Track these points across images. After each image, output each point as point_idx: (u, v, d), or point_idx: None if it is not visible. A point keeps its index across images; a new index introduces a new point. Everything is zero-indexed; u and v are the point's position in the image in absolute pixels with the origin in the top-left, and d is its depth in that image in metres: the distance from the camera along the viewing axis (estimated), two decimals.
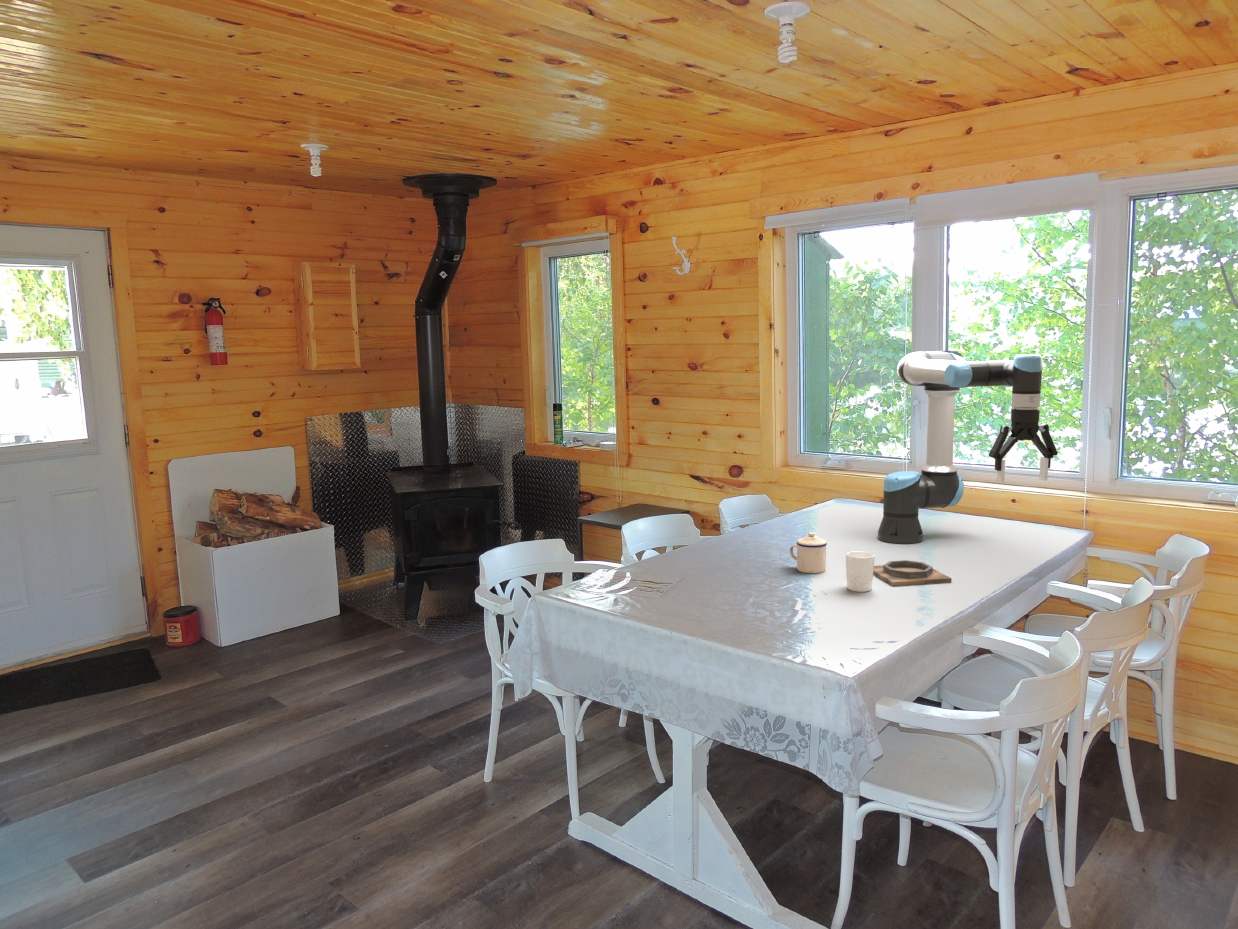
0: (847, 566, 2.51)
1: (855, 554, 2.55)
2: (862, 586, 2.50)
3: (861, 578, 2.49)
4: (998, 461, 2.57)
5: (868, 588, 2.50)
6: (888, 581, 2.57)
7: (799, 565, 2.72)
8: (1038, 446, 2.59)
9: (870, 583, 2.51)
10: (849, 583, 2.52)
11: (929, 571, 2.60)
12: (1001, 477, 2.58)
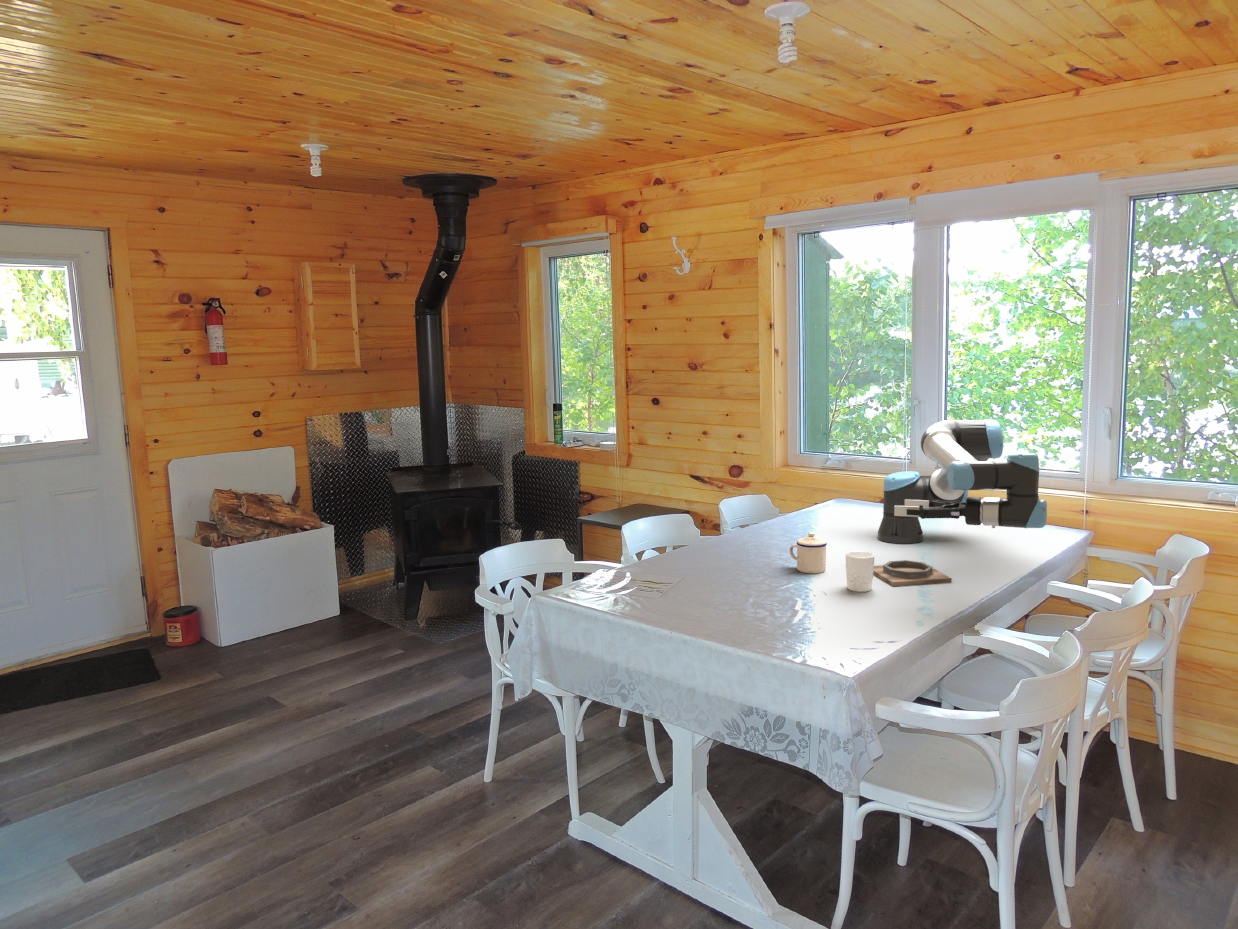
0: (847, 566, 2.51)
1: (855, 554, 2.55)
2: (862, 586, 2.50)
3: (861, 578, 2.49)
4: (917, 514, 2.36)
5: (868, 588, 2.50)
6: (888, 581, 2.57)
7: (799, 565, 2.72)
8: (940, 507, 2.46)
9: (870, 583, 2.51)
10: (849, 583, 2.52)
11: (929, 571, 2.60)
12: (900, 515, 2.39)
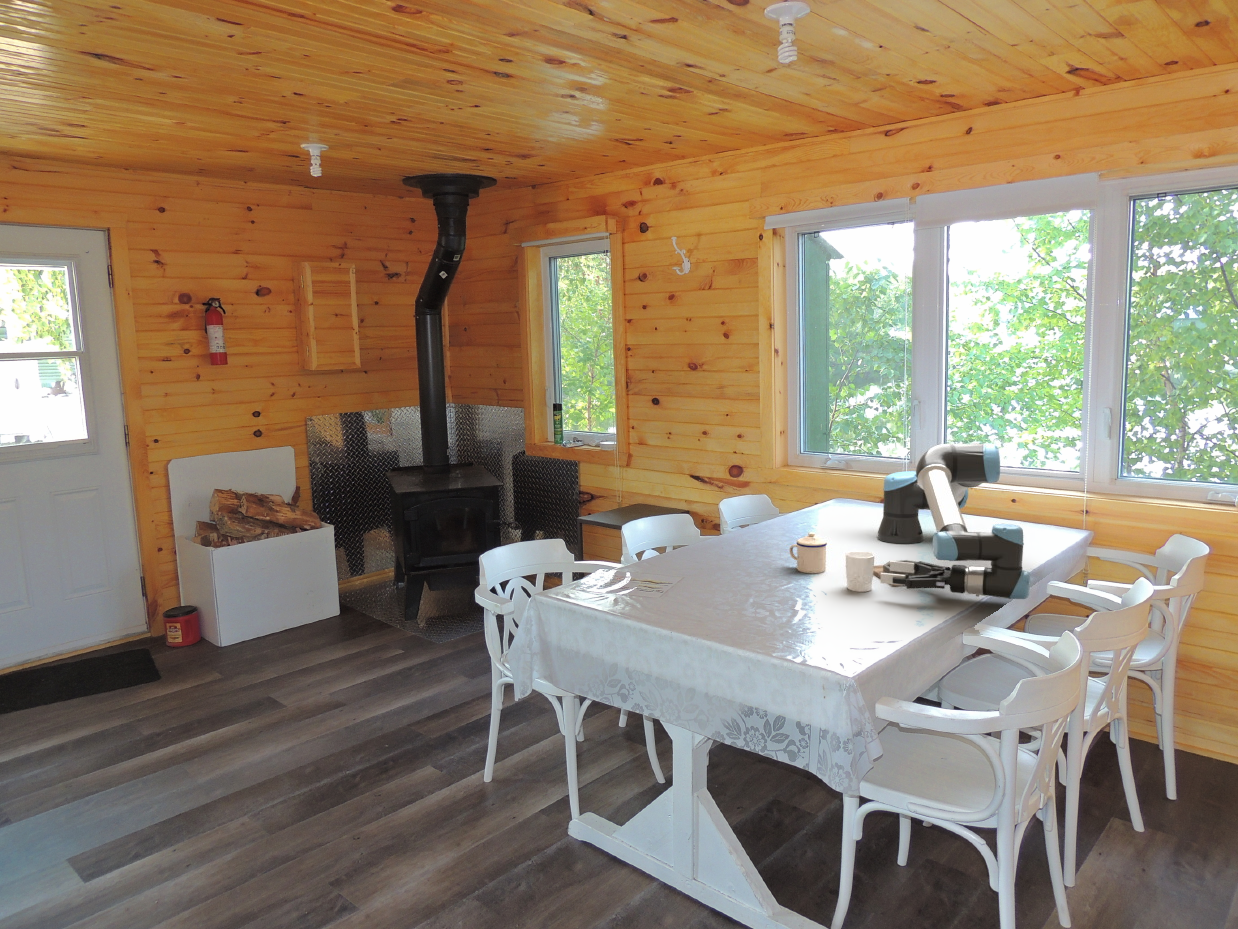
0: (847, 566, 2.51)
1: (855, 554, 2.55)
2: (862, 586, 2.50)
3: (861, 578, 2.49)
4: (903, 583, 2.39)
5: (868, 588, 2.50)
6: None
7: (799, 565, 2.72)
8: (925, 571, 2.48)
9: (870, 583, 2.51)
10: (849, 583, 2.52)
11: None
12: (886, 582, 2.42)
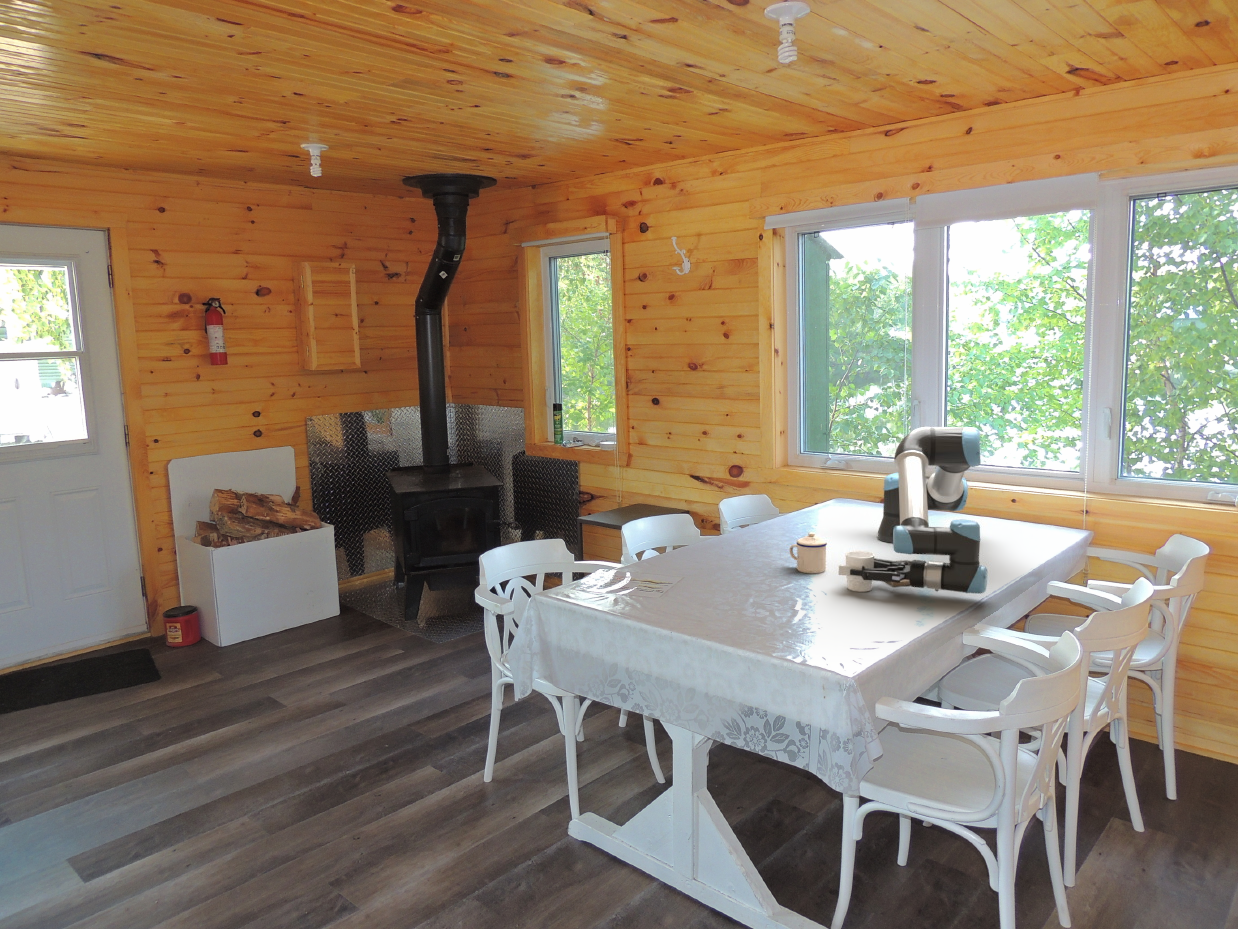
0: None
1: (855, 554, 2.55)
2: (862, 586, 2.50)
3: (861, 578, 2.49)
4: (859, 575, 2.47)
5: (869, 588, 2.50)
6: None
7: (799, 565, 2.72)
8: (883, 567, 2.52)
9: (870, 583, 2.51)
10: (849, 583, 2.52)
11: None
12: (843, 574, 2.50)
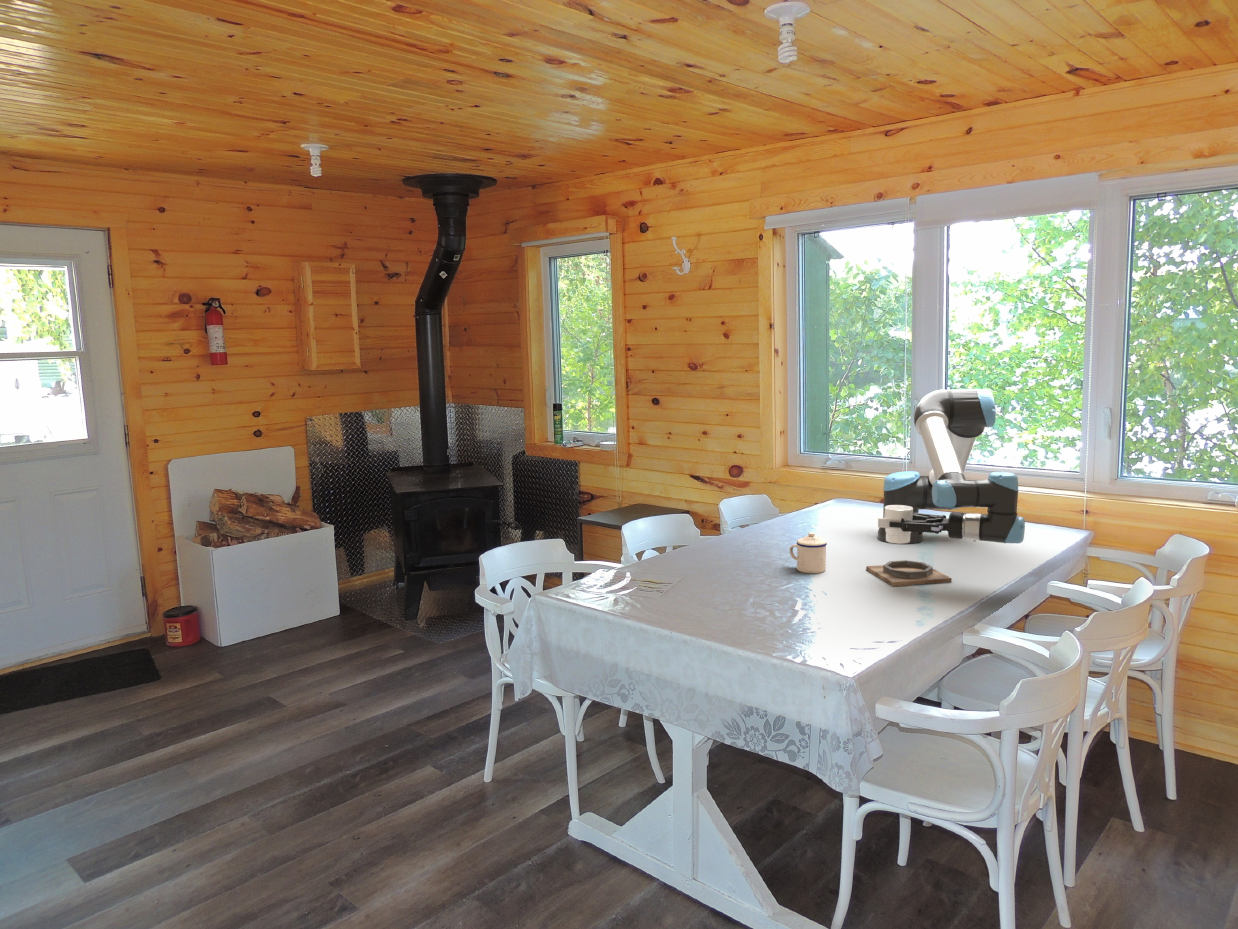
0: None
1: (894, 508, 2.62)
2: (901, 538, 2.56)
3: (900, 530, 2.56)
4: None
5: (907, 540, 2.57)
6: (888, 581, 2.57)
7: (799, 565, 2.72)
8: (921, 520, 2.59)
9: (909, 535, 2.57)
10: (888, 535, 2.58)
11: (929, 571, 2.60)
12: (883, 526, 2.57)
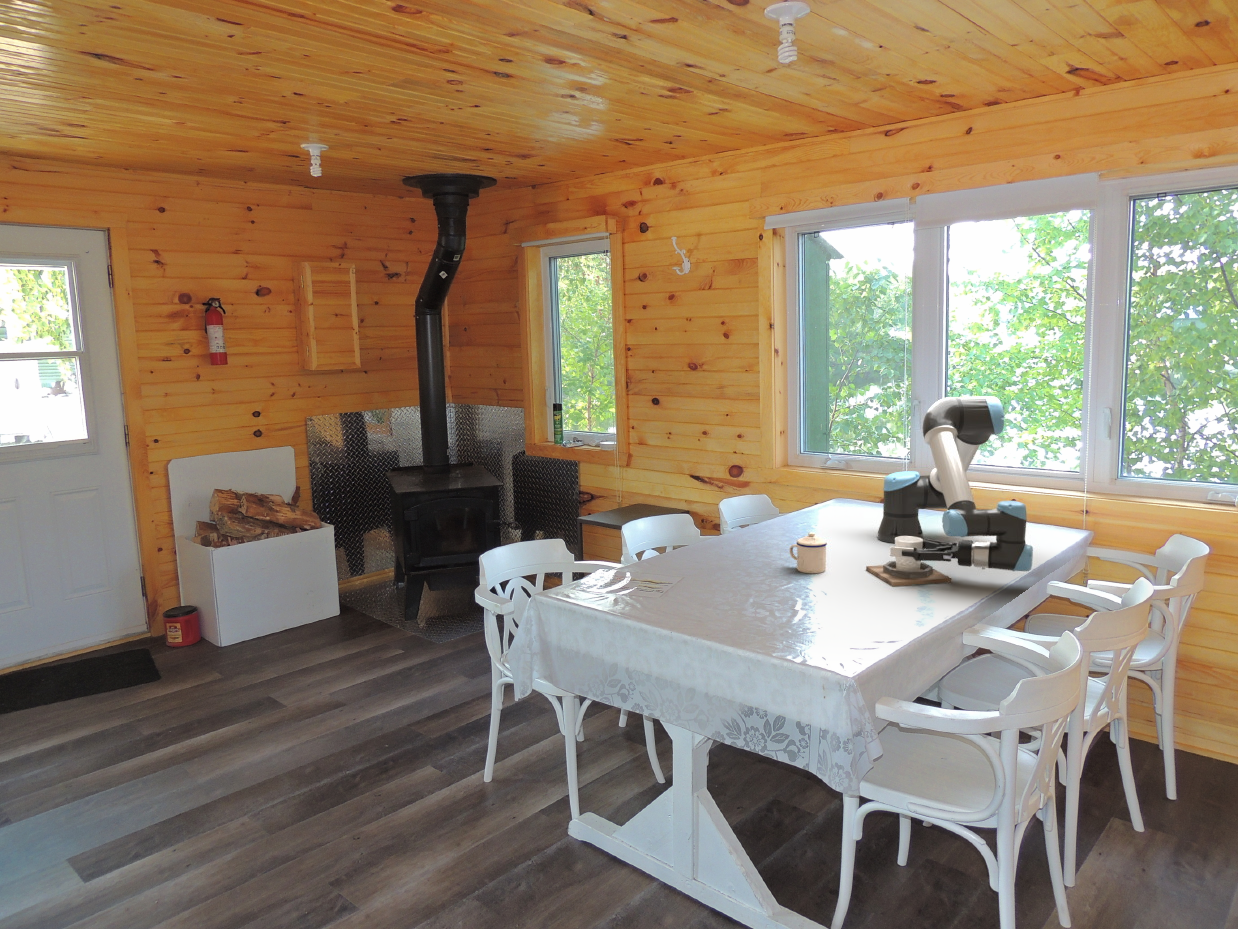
0: None
1: (904, 539, 2.67)
2: (911, 569, 2.61)
3: (910, 561, 2.61)
4: (911, 556, 2.56)
5: None
6: (888, 581, 2.57)
7: (799, 565, 2.72)
8: (932, 547, 2.64)
9: (918, 566, 2.62)
10: (898, 566, 2.63)
11: (929, 571, 2.60)
12: (895, 555, 2.59)
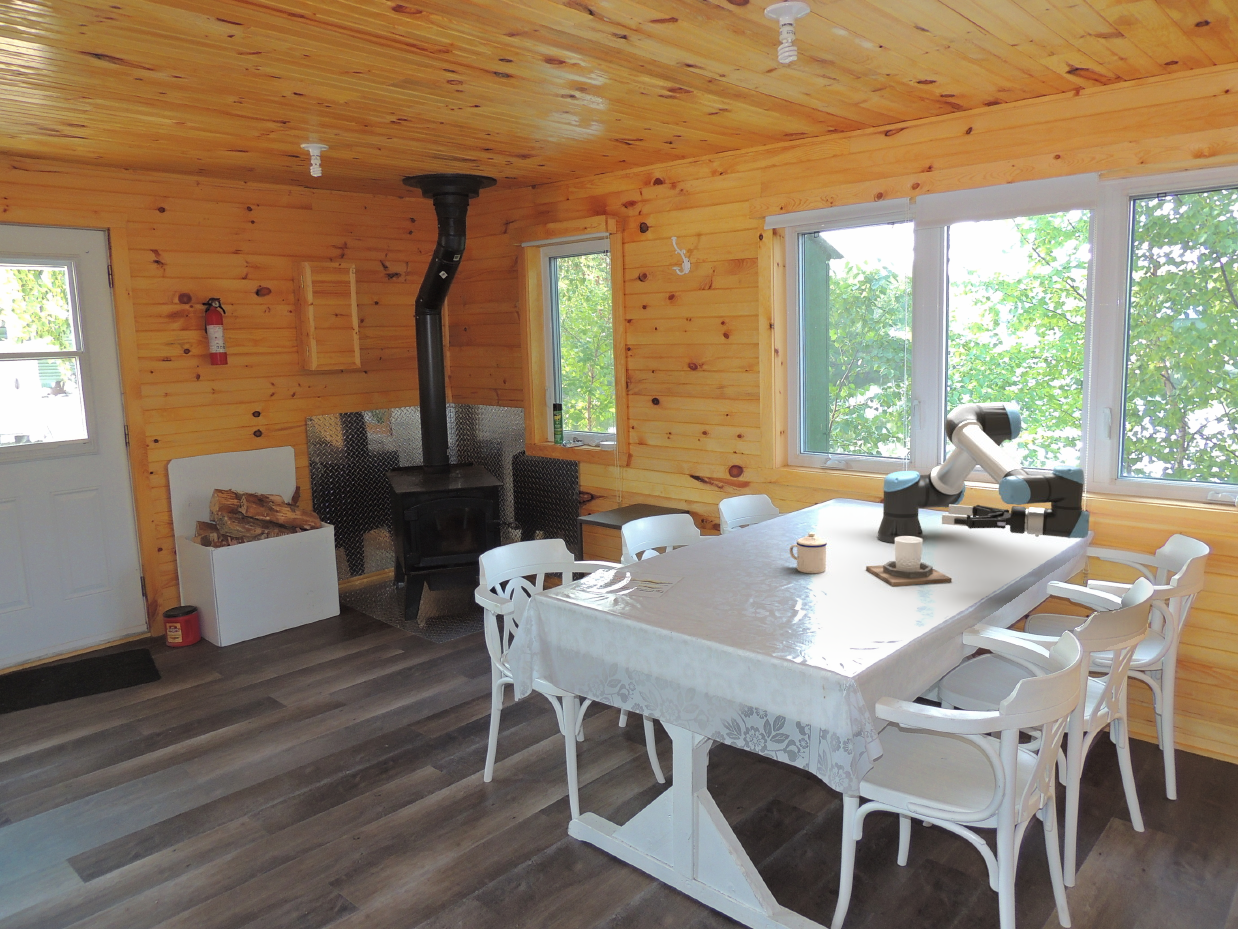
0: (896, 550, 2.63)
1: (903, 539, 2.67)
2: (911, 569, 2.61)
3: (910, 562, 2.61)
4: None
5: None
6: (888, 581, 2.57)
7: (799, 565, 2.72)
8: (984, 514, 2.56)
9: (918, 566, 2.62)
10: (898, 566, 2.63)
11: (929, 571, 2.60)
12: (947, 523, 2.50)
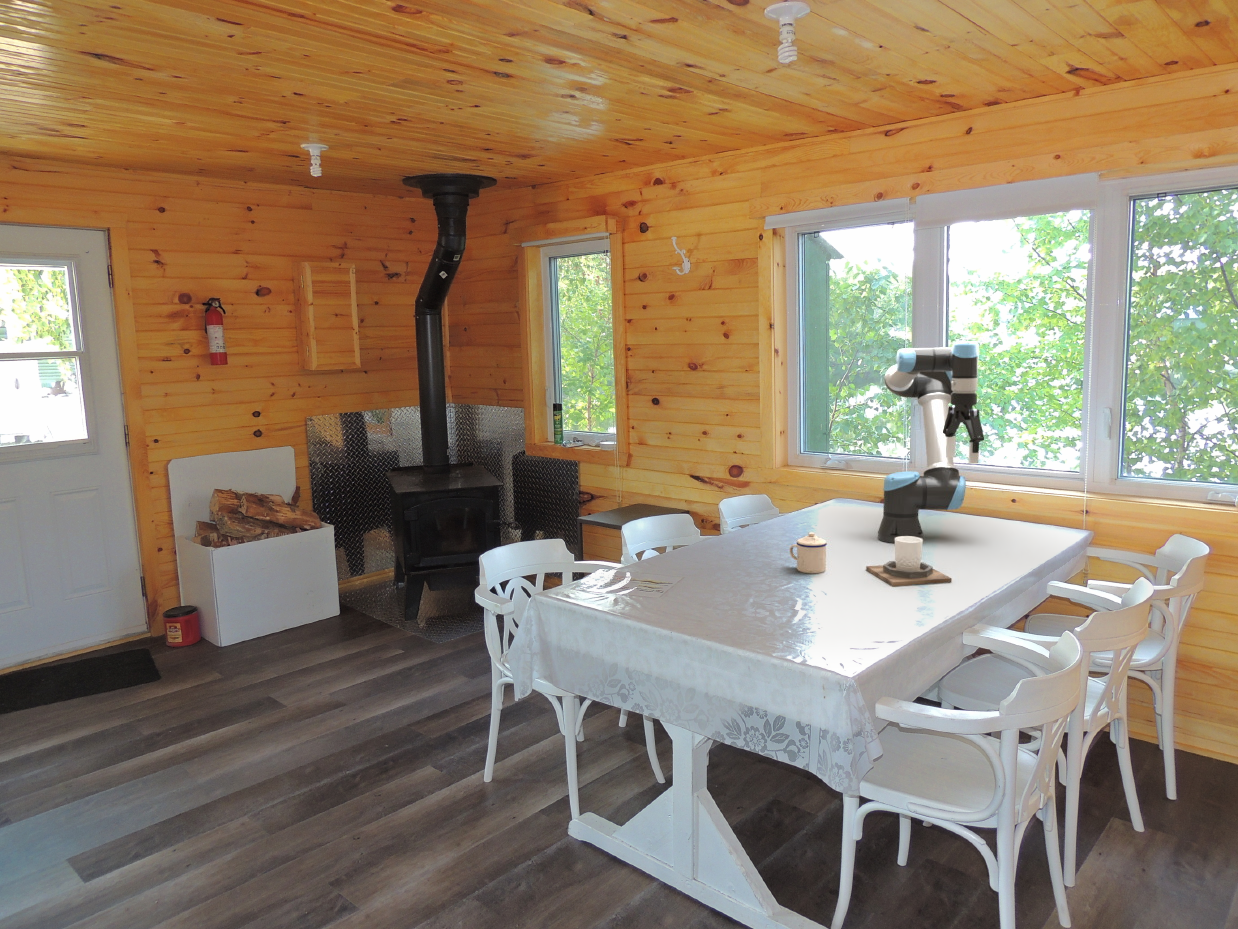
0: (896, 550, 2.63)
1: (903, 539, 2.67)
2: (911, 569, 2.61)
3: (910, 561, 2.61)
4: (947, 437, 2.84)
5: None
6: (888, 581, 2.57)
7: (799, 565, 2.72)
8: None
9: (918, 566, 2.62)
10: (898, 566, 2.63)
11: (929, 571, 2.60)
12: None
